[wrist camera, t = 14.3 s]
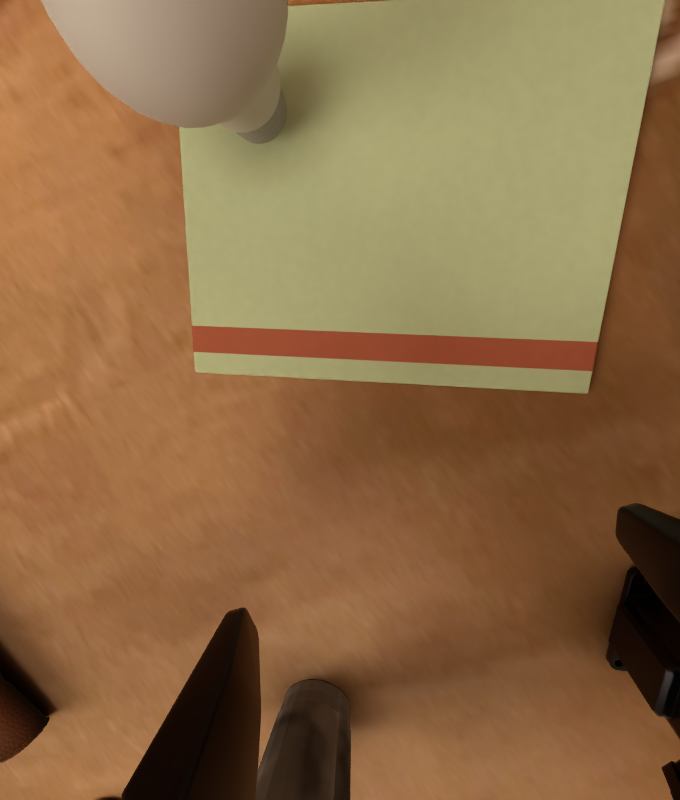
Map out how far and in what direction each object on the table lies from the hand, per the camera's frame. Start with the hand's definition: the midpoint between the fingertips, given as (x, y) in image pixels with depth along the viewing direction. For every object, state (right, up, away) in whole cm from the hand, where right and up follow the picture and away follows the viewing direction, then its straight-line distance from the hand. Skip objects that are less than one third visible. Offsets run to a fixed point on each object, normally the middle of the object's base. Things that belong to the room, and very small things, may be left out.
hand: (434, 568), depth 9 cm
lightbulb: (-6, +17, +9) cm, 20 cm away
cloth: (0, +13, +9) cm, 16 cm away
